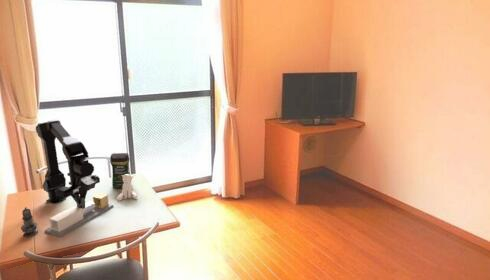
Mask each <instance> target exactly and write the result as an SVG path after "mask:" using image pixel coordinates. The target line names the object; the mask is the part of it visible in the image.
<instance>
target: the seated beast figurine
mask: <svg viewBox="0 0 490 280" xmlns="http://www.w3.org/2000/svg"><path fill="white" fill-rule="evenodd" d="M122 176H123V179H122V180H123V182H124V184H123V188H121V189H122V190H121V192H120V194H118V196H117V197H116V200H117V201H121V200H126V199H134V200H137V199H138V194H137V193H136V192H135V189H134V188H133V184H132V181H133V179H134V174H132V175H131V173H130V174H125V175H122Z"/></svg>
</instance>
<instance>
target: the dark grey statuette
mask: <svg viewBox="0 0 490 280" xmlns="http://www.w3.org/2000/svg"><path fill="white" fill-rule="evenodd" d="M31 211H32V210H31V209H30V208H27V206H26V207H24V209H22V212H21V213H22V214H21V215H22V218H21V219H22V221H23V224H22V225H21V226H20V229H21V230H22V232H23V234H22V236H23V238H31V237H35V236H36V235H38V233H39V231H38V230H37V228H38V223H37V222H36V221H35V222H34V221H33V217H34V216H33V215H32V212H31Z"/></svg>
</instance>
